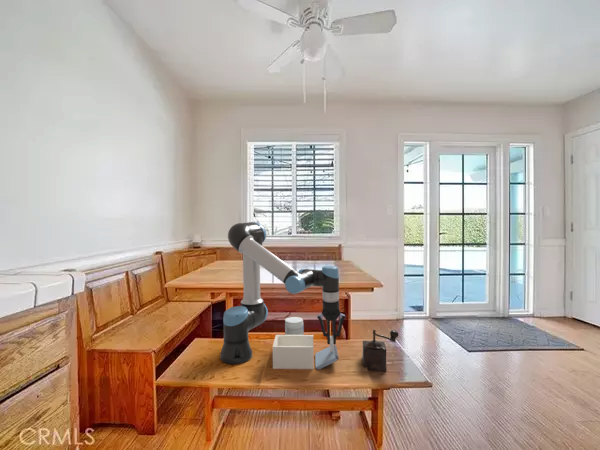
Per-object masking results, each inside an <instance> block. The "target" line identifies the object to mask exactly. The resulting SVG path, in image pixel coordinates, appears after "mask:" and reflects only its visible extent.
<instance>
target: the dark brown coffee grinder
mask: <svg viewBox="0 0 600 450" xmlns="http://www.w3.org/2000/svg"><path fill="white" fill-rule="evenodd" d="M376 332H377V330H376V329H372V335H373V337H372V340H362V350H361V351H362V366H363V368H367V370H368V371H374V372H377V371H379V372H386V371H387V370H388V369H387V348H386V347H387V346H386V344H385V342H384V341H378V340H376V337H380V338H383V339H387V340H389V341H390V342H392V343H396V341H397V338H398V337H399V332H398V331H396V330H390V332H389V335H390V337H389V336H385V335H382V334H377V333H376Z"/></svg>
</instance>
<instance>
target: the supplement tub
mask: <svg viewBox="0 0 600 450" xmlns="http://www.w3.org/2000/svg"><path fill="white" fill-rule="evenodd" d="M284 321H285V322H284V331H285V332H284V335H305V333H304V329H305V328H304V320H303V318H302V317H299V316H291V317H287V318H285V319H284Z"/></svg>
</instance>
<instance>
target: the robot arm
mask: <svg viewBox="0 0 600 450" xmlns="http://www.w3.org/2000/svg"><path fill="white" fill-rule="evenodd" d="M266 238H267V231H266V229H265V227H264V225H262V224H261V223H260V222H255V221H249V222H238V223H236V224H233V225H231V227H229V230H228V233H227V240H228V242H229V244H230V245H231V246H232V247H233V249H234V250H236V251H237V252H238V253H239V254H242V275H243V276H242V279H243V283H242V284H243V298H242V299H241V300H240V305H238V306H237V305H236V306H232V307H231V306H230V308H227V309H226V310H225V311H224V312H223V318H222V322H223V345H222V348H221V351H220V355H219V356H220V358H221V359H220V361H221V360H222V361H223V362H222V361H221V362H222V363H224V362H225V363H224V364H229V365H238V364H242V363H246V362H248V361H250V360H251V359H252V357H253V349H252V348H251V344H250V341H249V331H251V330H252V329H254V328H257V327H259V326H261V325H262V324H263V323H264V322H265V321H266V320H267V318H268V314H269V313H268V312H269V310H268V307H267V306H266V303H264V299H263V298H262V296H261V268H260V267H262V268H263V269H265V270H266V271H267V272H269V273H270V274H271V275H272V276H274V277H276V278H277V279H278V280H279V281H281V283H283V284H284V287H285V288H286V291H287V292H288V293H290V294H291V295H292V294H293V295H295V294H299V293H301V292H303V291H304V290H307V289H309V288H311V287H320V288H322V311H321V312H320V314H317V315H316V317H317V319H318V321H319V324H320V327H321V332H322V336H323V337H325V338H327V339H326V340H327V341H326V342H327V345H329V346H330V352H334V346H333V344H334V345H336V344H337V337H340V336H341V332H342V327H343V323H344V320H346V315H345V314H344V313H341V311H340V301H339V300H340V282H339V281H340V274H339V268H338V266H336V265H323V267H322V268H321V270H320V269H309V268H302V269H299V270H298V271H297V270H296V269H294V268H293V267H291V266H290V265H289V264H287V263H286V262H285V261H283V260H282V259H281V258H279V257H278V256H276V255H275V254H274V253H272V252H271V251H270V250H269V249H267V248H266V247H264V246H263V243H264V242H265V241H266ZM323 318H324V319H325V320H326V330H325V324H324V322H323ZM338 318H339V322H338V327H336V325H337V324H336V321H337V320H338ZM331 321H332V335H331ZM336 328H337V331H336Z"/></svg>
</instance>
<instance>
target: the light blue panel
mask: <svg viewBox="0 0 600 450" xmlns="http://www.w3.org/2000/svg"><path fill="white" fill-rule="evenodd" d="M333 346H334V352H330V345H329V346H328V347H326V348H324V349H321V350H320V351H317V352H314V353H315V354H314V355H315V356H314V357H315V358H314V359H315V360H314V363H315V364H314V365H315V369H316V370H321V369H323V368H325V367H327V366H329V365H331V364H333V363H335V362H337V361H338V360H339V359H340V358H339V352H338V348H337V345H336V344H333Z"/></svg>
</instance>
